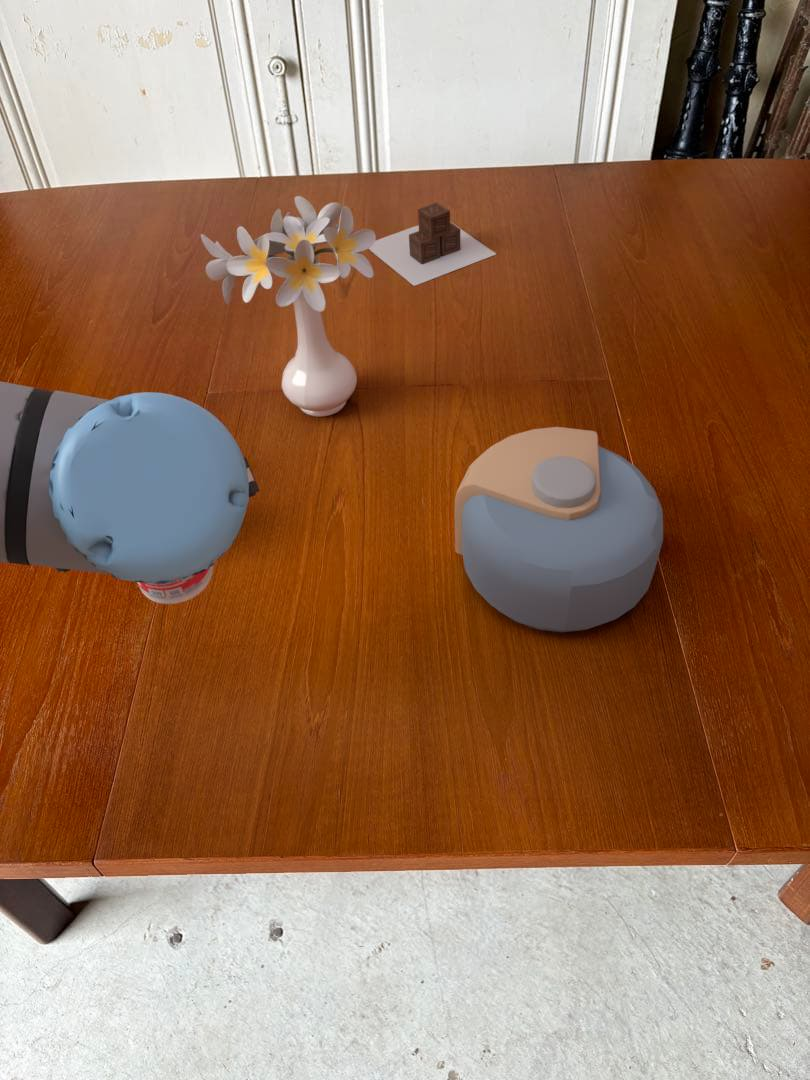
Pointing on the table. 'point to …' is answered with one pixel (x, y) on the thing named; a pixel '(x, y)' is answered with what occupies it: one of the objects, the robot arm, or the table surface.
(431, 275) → the stack of crates
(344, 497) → the table surface
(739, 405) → the table surface
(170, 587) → the pill bottle
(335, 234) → the flower vase
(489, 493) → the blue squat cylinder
